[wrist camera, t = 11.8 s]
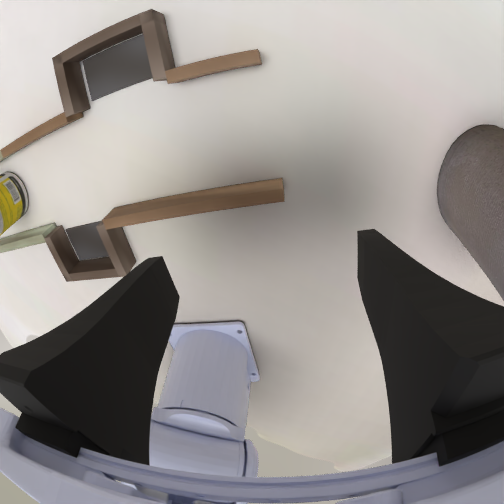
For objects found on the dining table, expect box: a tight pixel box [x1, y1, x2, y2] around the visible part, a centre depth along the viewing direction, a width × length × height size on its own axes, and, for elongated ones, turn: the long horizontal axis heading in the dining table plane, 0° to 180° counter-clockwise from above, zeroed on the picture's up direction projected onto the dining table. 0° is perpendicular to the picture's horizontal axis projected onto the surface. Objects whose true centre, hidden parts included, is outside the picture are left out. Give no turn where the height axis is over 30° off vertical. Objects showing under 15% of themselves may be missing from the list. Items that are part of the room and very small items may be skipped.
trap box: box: [0, 9, 284, 281], centre depth 19 cm, size 18×32×2 cm, turn 100°
